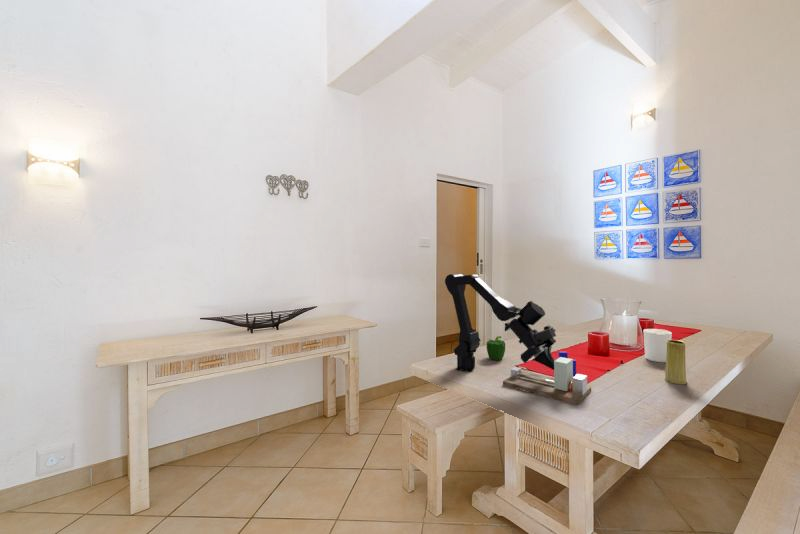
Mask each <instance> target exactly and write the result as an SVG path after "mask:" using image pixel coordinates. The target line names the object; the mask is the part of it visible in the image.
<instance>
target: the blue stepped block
mask: <svg viewBox="0 0 800 534" xmlns="http://www.w3.org/2000/svg"><path fill="white" fill-rule="evenodd" d="M560 357H564V358H569V357H568V352H567V351H558V358H560ZM558 358H554V361H555V360H557V359H558ZM576 374H577V360H576V359H573V377H574V375H576Z"/></svg>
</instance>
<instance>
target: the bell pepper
mask: <svg viewBox="0 0 800 534" xmlns="http://www.w3.org/2000/svg"><path fill="white" fill-rule="evenodd" d="M501 338H502V336H501V335H498V336H496V337H495V339H494V340H493V339H489V340H488V341H487V342H486V351H487V356H488V357H489V359H492V360H495V361H501V360H502V359H503V358H504V357H505V352H506V342H505V340H501Z"/></svg>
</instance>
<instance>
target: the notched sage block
mask: <svg viewBox="0 0 800 534" xmlns="http://www.w3.org/2000/svg"><path fill="white" fill-rule="evenodd" d="M556 359H557V360H555V359H554V370H553V374H554V375H553V378H554V388H555V389H559V390H563V391H568V386H569V382H570V381H572V378H573V377H574V376H573V360H574V359H573V358H569V357H568V358H564V357H560V358H559V357H558V358H556Z"/></svg>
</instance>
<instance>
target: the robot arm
mask: <svg viewBox="0 0 800 534" xmlns="http://www.w3.org/2000/svg"><path fill="white" fill-rule="evenodd" d="M444 283H445V286H446V289H447V291H448V293H450V295H451V297H452V300H453V304H454V309H455V313H456V318H457V322H458V327H459V334H458V344H457V346H455V348H454V349H453V352H454V356H456V359H457V360H456V363H457V364H456V365H457V367H456V368H455V370H457V371H465V372H473V370H474V369H475V368H476V356H475V355H474V353H476V352H477V349H478V348H479V346H480V345H481V343H480V342H481V339H480V338H481V337H480V335H479V331H477V330H476V331H475V330H474V329H473V326H472V323H471V319H470V313H469V310H468V305H467V300H466V297H465V291H466V287H467V286H466V285H469V286H470V287H472V289H473V290H474V291H475V292H476V293H477V294H478V295H479V296H481V298H482V299H483V300H484V301H486V303H487V304H488V305H489V306H490V308H491V311H492V312H493V314H494V315H495V316H496V317H497V319H498V320H500V322H506V321H507V322H506V323H504V332H507V331H510V330H511V331H512V333H513V334H514V335H515V336H516V337H517V338H518V339H519V340H518V343H519V344H523V345H524V347H526V348H527V349H526V350H525V351H524V352H522V353H521V354H520V360H521V361H522V362H523V364H526V363H527V362H529V361H530V360H531V358H532V362H536V363H538V364H541V365H543V366H545V367H547V368H549V369H551V370H553V371H554V361H555V358H554V357H553V355H552V347H553V345H554V344H555V343H556V342H557V340H555V338H554V337H557V334H556V329H555V328H554V327H552V326H551V325H550V324H548V325H546V326H544V327H543V330H541V331H538V330H537V329H535V328H534V329H532V328H531V326H534V325H536V323H538V322H539V321H540V320H541V319H542V318H543V317H544V316H546V312H545V310H544V309H543V307H541V306H540V305H538V304H536V303H534V302H533V301H532V300H530V301H528V302H527V303H526V304H525V306H523V307H522V308H520V307H516V306H515V305H514V304H512V302H510V301H508V300H506V299H505V298H502V297H501V296H499V295H498V294H497V293H495V291H494V290H493V289H492V288H491V287H490V286H489V285H488V284H486V282H484V281H483V280H482V279H481V278H480V276H479V275H478V274H475V273H474V274H465V275H464V274H462V273H451V274H448V275H447V276H446V277H445V279H444ZM516 317H517V318H516ZM509 320H510V322H508V321H509ZM533 357H534V358H533Z"/></svg>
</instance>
